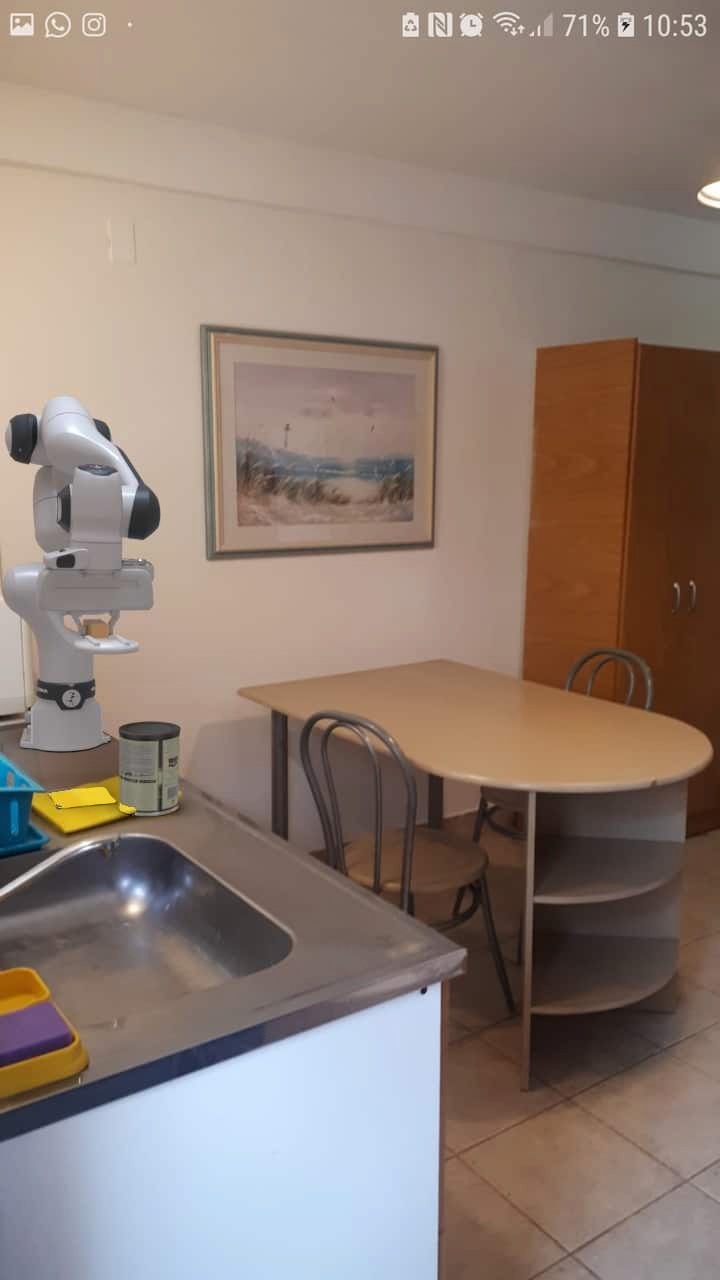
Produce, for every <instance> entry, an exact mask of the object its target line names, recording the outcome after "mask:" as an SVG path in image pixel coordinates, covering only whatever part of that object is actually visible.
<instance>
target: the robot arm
mask: <svg viewBox="0 0 720 1280" xmlns="http://www.w3.org/2000/svg"><path fill="white" fill-rule="evenodd" d="M4 433H5V434H4V442H5V445H6V448H7V449H6V450H7V451H8V453H9V456H10V458H11V459H12V460H13V461H15V462H16V463H20V464H25V465H30V464H33V465H36V466H37V465H39V466H41V467H39V469H38V470H37V472H36V473H35V476H34V482H33V490H32V513H33V525H34V527H33V528H34V538H35V541H36V543H37V545H38V546H39V548H40V549H41V550H42V551H43V552H45V554H44V555H43V557H42V562H35V561H34V562H30V563H29V562H27V563H23V564H18V565H12V566H11V567H10V568H9V569H8V570H7V572H6V573H5V574H4V576H3V578H2V581H1V595H2V598H3V600H4V603H5V604H6V606H7V607H8V608H9V610H11V611H12V612H14V613H15V614H16V615H18V616H19V617H20V618H21V619H22V620H23V621H24V622H25V623H26V624H27V626H28V627H29V629H30V630H31V632H32V633H33V636H34V638H35V641H36V647H37V655H38V669H39V670H38V671H39V673H38V676H39V678H38V679H37V681H36V688H35V689H36V696H37V698H36V700H35V702H34V704H33V705H32V707H31V708H30V710H27V711H25V712H24V723H30V724H27V726H26V727H24V728H23V732H22V735H21V737H20V742H19V747H20V748H27V749H35V750H40V751H49V752H72V751H73V752H74V751H82V750H88V749H92V748H95V747H96V748H97V747H98V746H100V745H102V744H106V743H109V742H108V741H110V740H111V736H110V735H107V734H106V733H104V720H103V719H104V718H103V706H102V705H103V704H101V703H100V702H99V701H98V700H97V699H96V698H95V696H96V688H97V685H96V679H95V678H94V654H89V653H82V652H78V651H76V650H75V641H76V640H79V639H83V636H88V632H87V631H88V626H86V625H83V622H82V621H81V620H80V618H81V617H82V616H91V615H94V616H95V615H96V616H98V615H104V614H108V615H109V616H111V617H110V619H109V620H108V622H107V624H109V637H111V636H113V637H114V626H116V623H117V622H118V620H119V619H120V617H121V616H120V615H121V613H120V611H150V610H151V609H152V608H153V607H154V603H155V602H154V588H153V581H154V578H155V568H154V565H153V564H152V563H151V562H149V561H147V559H144V558H138V559H137V558H123V538H124V539H125V538H127V539H130V540H139V541H144V540H146V539H147V538H149V537H150V536H151V535H153V534H154V533H155V531H157V529H158V528H159V527H160V524H161V506H160V501H159V498H158V497H157V494H155V492H154V491H153V489H152V488H150V487H149V486H148V485H147V484H146V483H145V482H144V480H143V479H142V478H141V476H140V474H139V472H138V471H137V469H136V468H135V466H134V465H133V463H132V462H131V460H130V459H129V457H128V456H127V454H126V453H125V451H123V449H122V448H121V447H119V446H117V445H116V444H115V443H113V438H112V433H111V431H110V427H109V425H108V424H107V423H106V422H105V421H103V420H102V419H101V420H100V419H97V418H94V417H92V415H91V413H90V411H89V410H88V409H87V407H86V406H85V404H83V403H82V402H81V401H80V400H79V399H77V398H75V397H72V396H68V395H62V396H61V395H60V396H57V397H54V398H52V399H50V400H49V401H48V402H47V403H46V404H45V406H44V408H43V410H42V414H41V413H40V414H37V413H36V414H33V413H22V414H16V415H15V416H13V417H12V418H10V420H9V422H8V425H7V427H6V429H5V432H4ZM70 615H71V617H72V619H73V621H74V623H75V625H76V626H77V631H76V630H74V629H72V628H69V627H68V626H67V625H66V624H65V621H64V617H65V616H70ZM111 741H112V740H111ZM111 741H110V742H111Z"/></svg>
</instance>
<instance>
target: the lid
mask: <svg viewBox="0 0 720 1280" xmlns="http://www.w3.org/2000/svg"><path fill="white" fill-rule="evenodd" d="M82 625H86V626H88V631H87V632H88V636H83V639H79V640H76V641H75V650H76V651H78V652H82V653H89V654H93V655H103V656H105V655H107V656H109V655H112V656H113V655H126V654H134V653H136V652H138V651H140V642H139V641H138V640H135V639H130V638H124V637H122V636H120V634H113V637H110V636H109V624H108V622H105V621H103V620H102V619H100V618H97V619H96V618H94V619H93V618H92V619H91V618H90V619H88V618H86V619H85V618H83V620H82Z"/></svg>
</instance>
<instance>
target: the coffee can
mask: <svg viewBox="0 0 720 1280" xmlns="http://www.w3.org/2000/svg"><path fill="white" fill-rule="evenodd" d="M180 733H181V726H179V725H178V724H176V723H171V722H166V721H137V722H136V721H134V722H129V723H126V724H122V725H121V726H119V727H118V734H119V735H118V739H119V741H118V742H119V750H118V752H119V753H118V754H119V755H118V756H119V757H118V765H119V768H118V774H119V776H118V803H119V802H120V803H121V804H122V805H125V806H128V807H134V808H135V809H136V812H135V814H134V815H135V817H156V816H163V815H164V816H165V815H168V814H171V813H174V812H176V811H177V810H178V809H179V808H180V804H179V802H180V801H179V796H180V791H179V790H180V789H179V787H180ZM134 815H133V816H134Z"/></svg>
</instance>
